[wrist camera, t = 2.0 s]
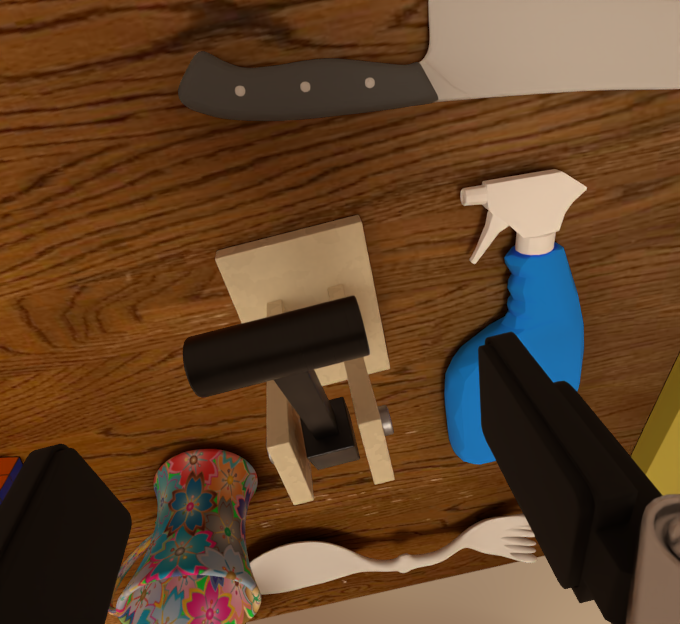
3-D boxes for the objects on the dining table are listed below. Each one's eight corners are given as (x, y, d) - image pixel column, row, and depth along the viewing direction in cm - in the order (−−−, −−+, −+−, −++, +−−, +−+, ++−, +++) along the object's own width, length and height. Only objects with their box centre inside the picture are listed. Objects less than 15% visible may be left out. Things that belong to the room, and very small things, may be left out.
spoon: (524, 536, 52) (539, 566, 49) (250, 581, 49) (249, 616, 46) (540, 490, 47) (558, 520, 44) (236, 536, 44) (234, 572, 41)
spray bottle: (574, 447, 38) (635, 162, 25) (452, 473, 38) (447, 199, 25) (555, 422, 41) (602, 150, 27) (441, 446, 41) (431, 184, 27)
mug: (230, 422, 35) (217, 556, 26) (280, 484, 40) (283, 613, 32) (98, 473, 36) (45, 617, 28) (163, 527, 42) (135, 663, 33)
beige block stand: (216, 250, 27) (184, 398, 17) (358, 213, 27) (417, 338, 17) (273, 387, 34) (276, 554, 23) (386, 358, 34) (441, 512, 23)
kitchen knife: (766, -27, 22) (746, 84, 24) (717, -7, 24) (701, 93, 26) (158, -4, 19) (180, 124, 20) (171, 17, 21) (190, 129, 23)
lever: (180, 317, 13) (183, 395, 11) (349, 274, 13) (370, 348, 11) (283, 430, 23) (290, 477, 22) (375, 407, 23) (387, 452, 22)
